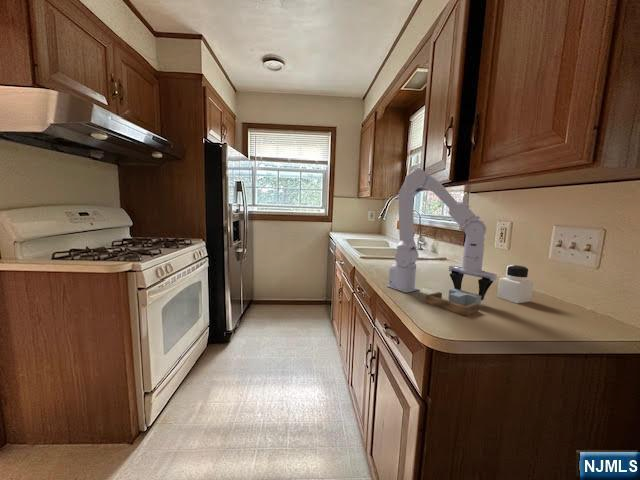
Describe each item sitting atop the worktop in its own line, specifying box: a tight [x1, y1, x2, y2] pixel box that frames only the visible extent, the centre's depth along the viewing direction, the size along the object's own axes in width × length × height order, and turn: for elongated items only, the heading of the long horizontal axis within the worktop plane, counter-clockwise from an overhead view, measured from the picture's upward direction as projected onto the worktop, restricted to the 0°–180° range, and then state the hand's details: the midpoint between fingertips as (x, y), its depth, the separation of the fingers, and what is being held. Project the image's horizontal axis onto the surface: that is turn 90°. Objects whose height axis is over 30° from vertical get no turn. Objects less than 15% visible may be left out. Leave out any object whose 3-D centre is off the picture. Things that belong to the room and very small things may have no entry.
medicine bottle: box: [496, 264, 534, 304], centre depth 95 cm, size 7×7×12 cm
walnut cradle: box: [425, 291, 480, 317], centre depth 86 cm, size 13×7×2 cm, turn 34°
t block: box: [447, 288, 482, 308], centre depth 88 cm, size 9×8×4 cm
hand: (468, 296), depth 92 cm, fingers open, 7 cm apart
